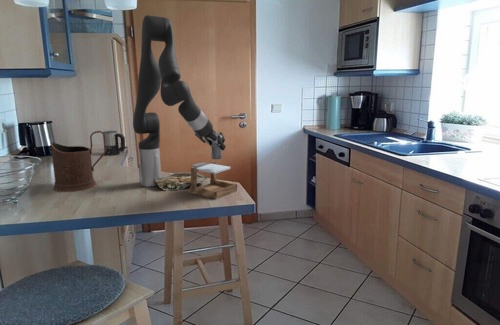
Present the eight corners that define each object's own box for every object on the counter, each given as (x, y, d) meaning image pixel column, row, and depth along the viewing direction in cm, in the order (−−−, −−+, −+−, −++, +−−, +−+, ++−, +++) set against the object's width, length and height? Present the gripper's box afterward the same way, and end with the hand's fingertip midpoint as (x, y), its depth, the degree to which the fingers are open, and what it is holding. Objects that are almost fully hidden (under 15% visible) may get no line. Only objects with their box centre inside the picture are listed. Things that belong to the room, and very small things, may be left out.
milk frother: (103, 156, 238) (100, 132, 234) (106, 151, 253) (104, 129, 249) (126, 154, 241) (124, 131, 238) (128, 150, 256) (126, 128, 253)
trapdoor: (188, 171, 164) (188, 165, 163) (205, 166, 172) (204, 161, 171) (214, 176, 155) (214, 170, 155) (230, 171, 163) (230, 166, 163)
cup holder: (56, 182, 180) (50, 130, 174) (110, 178, 187) (105, 128, 181) (49, 193, 163) (41, 136, 157) (108, 188, 170) (103, 133, 164)
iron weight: (209, 158, 159) (208, 135, 157) (216, 156, 162) (215, 133, 160) (217, 159, 156) (216, 135, 154) (224, 158, 160) (223, 134, 158)
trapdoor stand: (189, 192, 163) (188, 166, 161) (211, 185, 174) (210, 160, 172) (216, 199, 155) (215, 172, 152) (237, 190, 166) (236, 165, 163)
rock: (156, 191, 177) (160, 196, 163) (152, 176, 176) (156, 181, 162) (203, 178, 184) (211, 182, 170) (200, 164, 183) (207, 168, 169)
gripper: (217, 116, 145) (236, 142, 157) (190, 114, 153) (211, 139, 166) (208, 131, 142) (228, 157, 154) (181, 128, 150) (203, 153, 163)
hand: (219, 148), depth 160 cm, fingers closed on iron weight, 4 cm apart
